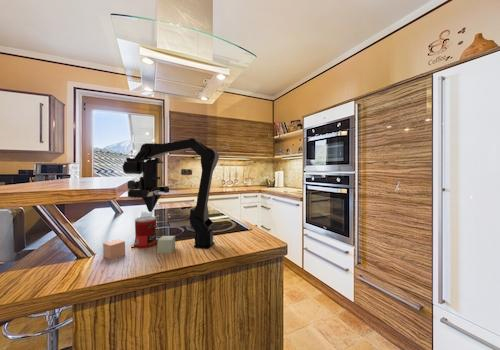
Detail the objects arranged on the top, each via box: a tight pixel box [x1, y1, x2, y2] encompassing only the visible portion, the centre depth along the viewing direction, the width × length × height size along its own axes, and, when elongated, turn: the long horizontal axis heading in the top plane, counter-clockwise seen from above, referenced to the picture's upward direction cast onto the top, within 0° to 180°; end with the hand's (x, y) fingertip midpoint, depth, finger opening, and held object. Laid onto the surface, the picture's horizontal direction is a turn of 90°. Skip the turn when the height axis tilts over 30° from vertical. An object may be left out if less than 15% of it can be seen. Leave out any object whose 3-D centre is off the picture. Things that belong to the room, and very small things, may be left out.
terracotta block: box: [102, 238, 126, 261], centre depth 79 cm, size 5×5×5 cm
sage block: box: [157, 235, 176, 254], centre depth 83 cm, size 5×5×5 cm
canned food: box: [134, 215, 157, 249], centre depth 90 cm, size 8×8×11 cm
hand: (150, 211), depth 90 cm, fingers closed
